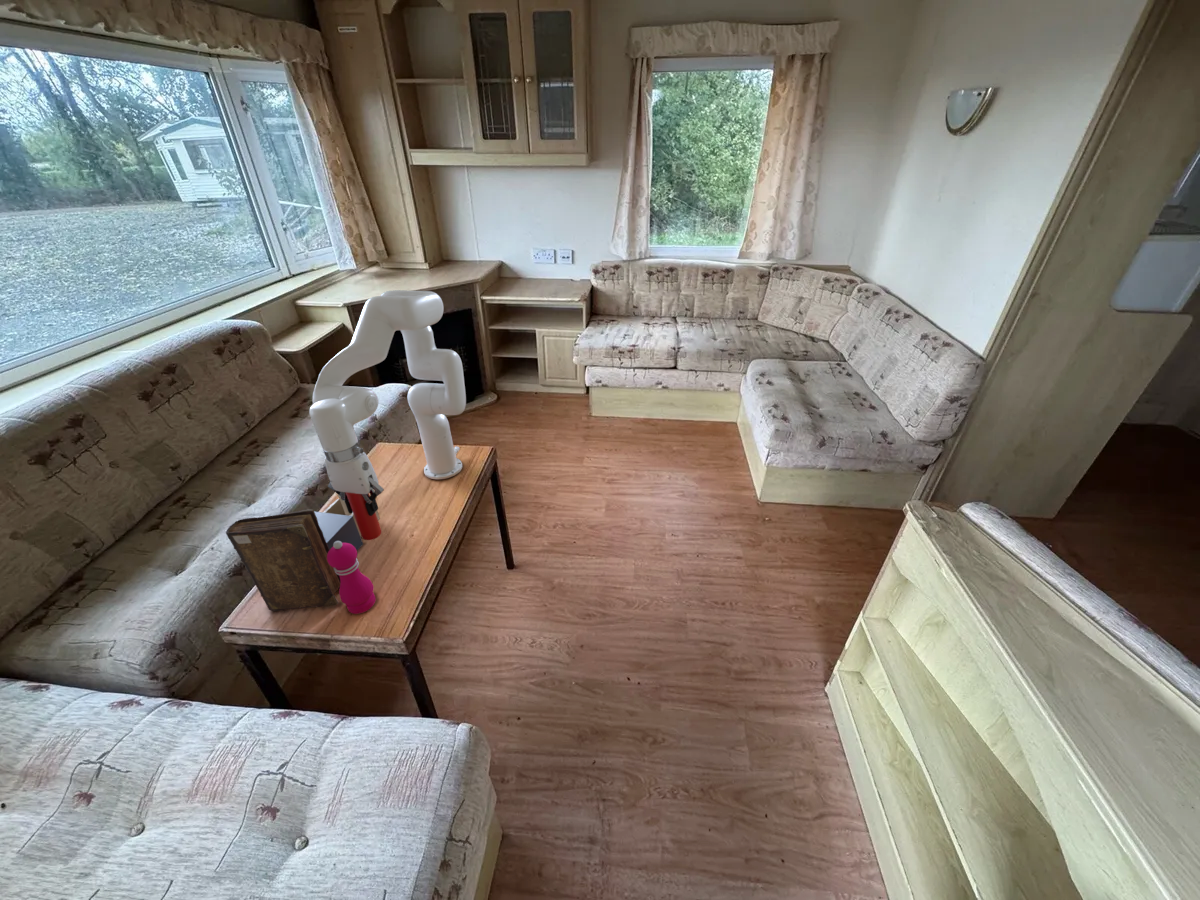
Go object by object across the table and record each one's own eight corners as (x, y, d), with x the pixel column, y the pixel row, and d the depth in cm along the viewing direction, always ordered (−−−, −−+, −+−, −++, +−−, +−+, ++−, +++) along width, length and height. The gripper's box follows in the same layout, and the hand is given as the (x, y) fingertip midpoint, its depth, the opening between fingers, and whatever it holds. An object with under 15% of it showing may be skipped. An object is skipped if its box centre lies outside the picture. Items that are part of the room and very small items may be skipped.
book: (265, 612, 114) (219, 533, 100) (280, 589, 120) (239, 511, 106) (337, 608, 114) (300, 529, 101) (348, 585, 120) (315, 508, 107)
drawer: (357, 506, 146) (349, 484, 142) (387, 510, 144) (380, 488, 140) (318, 546, 131) (307, 523, 127) (352, 550, 130) (342, 527, 125)
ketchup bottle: (369, 527, 128) (349, 470, 118) (385, 529, 127) (366, 472, 118) (358, 539, 124) (336, 481, 115) (374, 541, 123) (354, 483, 114)
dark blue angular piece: (326, 539, 135) (314, 511, 130) (363, 544, 133) (352, 516, 128) (288, 577, 123) (273, 548, 118) (328, 583, 121) (315, 554, 116)
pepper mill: (366, 618, 112) (340, 555, 101) (338, 613, 113) (310, 551, 103) (384, 594, 118) (361, 532, 107) (357, 590, 119) (333, 529, 109)
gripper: (384, 445, 114) (402, 505, 123) (321, 439, 117) (343, 498, 126) (365, 462, 108) (386, 524, 117) (299, 455, 110) (324, 516, 120)
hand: (363, 510), depth 122 cm, fingers closed on ketchup bottle, 4 cm apart
